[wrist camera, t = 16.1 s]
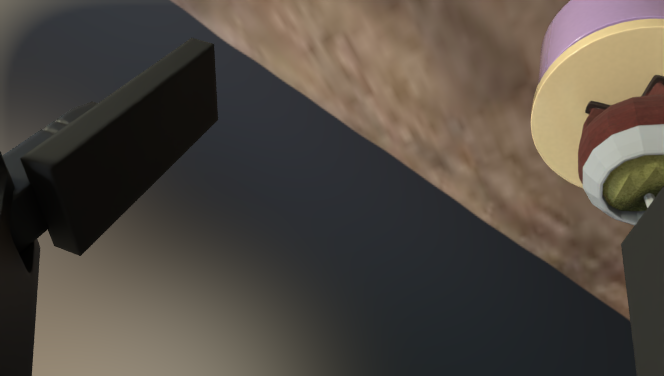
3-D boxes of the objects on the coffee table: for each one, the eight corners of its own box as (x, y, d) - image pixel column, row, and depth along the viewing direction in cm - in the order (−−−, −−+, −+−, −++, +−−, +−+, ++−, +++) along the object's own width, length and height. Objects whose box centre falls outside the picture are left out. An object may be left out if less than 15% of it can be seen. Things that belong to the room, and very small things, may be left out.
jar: (573, -46, 38) (576, 4, 30) (753, -9, 36) (810, 57, 28) (516, 96, 47) (505, 166, 38) (658, 133, 44) (681, 217, 36)
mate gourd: (605, 55, 31) (627, 205, 20) (743, 88, 30) (847, 269, 19) (557, 150, 36) (553, 312, 25) (673, 182, 35) (723, 370, 24)
